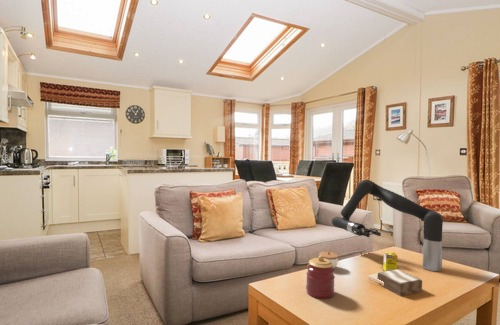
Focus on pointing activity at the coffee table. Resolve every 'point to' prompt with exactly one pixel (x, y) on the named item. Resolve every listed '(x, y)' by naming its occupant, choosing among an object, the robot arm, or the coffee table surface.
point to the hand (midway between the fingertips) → (374, 235)
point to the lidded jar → (330, 257)
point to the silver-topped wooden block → (400, 282)
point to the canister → (320, 278)
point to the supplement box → (390, 261)
